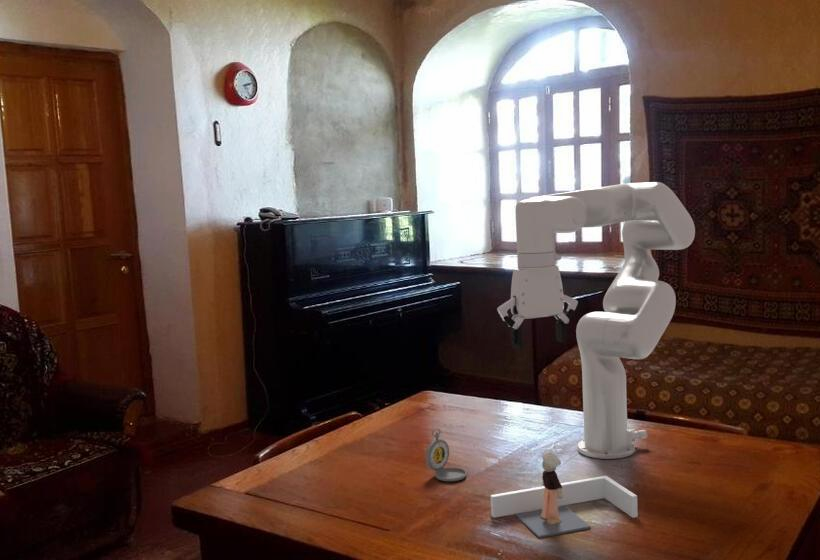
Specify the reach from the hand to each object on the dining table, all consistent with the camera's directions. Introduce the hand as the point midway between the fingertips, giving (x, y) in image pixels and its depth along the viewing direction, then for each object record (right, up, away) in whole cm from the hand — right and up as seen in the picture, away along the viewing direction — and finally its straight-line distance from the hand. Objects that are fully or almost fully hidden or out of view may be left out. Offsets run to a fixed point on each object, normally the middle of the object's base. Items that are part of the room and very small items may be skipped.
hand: (539, 344), depth 163 cm
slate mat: (-1, -31, -18) cm, 36 cm away
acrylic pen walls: (+2, -30, -16) cm, 34 cm away
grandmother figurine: (-1, -31, -18) cm, 35 cm away
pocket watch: (-18, -29, +8) cm, 35 cm away
